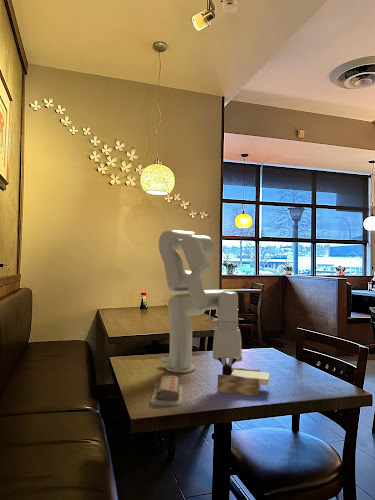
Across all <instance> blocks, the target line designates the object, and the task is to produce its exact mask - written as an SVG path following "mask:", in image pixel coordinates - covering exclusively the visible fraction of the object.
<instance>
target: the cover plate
mask: <svg viewBox="0 0 375 500" xmlns="http://www.w3.org/2000/svg"><path fill="white" fill-rule="evenodd" d="M231 376H240V377H250V378H258V385H260V386H269V383H270V372H265V371H260V372H256V371H245V370H233V372H232V374H231Z"/></svg>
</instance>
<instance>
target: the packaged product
mask: <svg viewBox="0 0 375 500" xmlns="http://www.w3.org/2000/svg"><path fill="white" fill-rule="evenodd" d="M183 389H184V385H183V383H181V384H180V378H179V376H176V375H172V374H171V375H170V374H169V375H166V374H164V375H161V377H160V379H159V382H156V383H155V384H154V389H153V392H152V396H151V399H150V405H151V406H176V407H177V406H182V405H183V404H182V403H183Z"/></svg>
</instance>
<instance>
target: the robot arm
mask: <svg viewBox="0 0 375 500" xmlns="http://www.w3.org/2000/svg"><path fill="white" fill-rule="evenodd" d="M214 249H215V245H214V242H213V240H212V238H211V237H210V236H208V235H205V234H201V233H199V232H194V231H189V230H187V231H186V230H178V229H167V230H165V231H163V232H162V233H160V235H159V238H158V250H159V255H160V257H161V259H162V263H163V266H164V267H163V268H164V272H165V279H166V282H167V287H168V289H169V290H170V291H171V292H173V293H174V292H175V293H179V294H174V295H172V296H171V297H170V298H169V300H168V303H167V309H168V314H169V356H167V357H163V356H161V357H160V362H161V363H162V364H166V365H165V370H167V372H171V373H176V374H177V373H179V374H180V373H181V374H182V373H183V374H184V373H185V374H186V373H191V372H193V371H195V370H196V364H193V363H192V361H193V360H192V359H193V350H192V349H193V326H192V323H191V320H190V319H189V317H193V316H201V315H203V314H204V313H205V312H206V311H211V310H217V320H216V321H213V326H216V328H215V329H214V333H213V342H212V343H213V344H212V359H214V360H216V361H219V363H220V364H221V365H222V367H223V374H224V375H229V376H230V375H231V374H232V368H233V365H234V364H235V363H236V362H237V363H238V362H241V361H243V356H242V350H243V346H242V335H241V330H240V328H239V295H238V292H237V291H230V290H229V291H228V290H223V289H204V285H203V280H202V277H201V276H202V275H204V274H206V273H207V272H208V271H209V270H210V269H211V267H212V263H211V261H210V259H209V255H211V254H212V253H213V251H214ZM177 250H182V251H183V254H184V256H185V260H186V261H187V265H188V267H189V269H190V270H189V269H188V270H187V269H185V266H184V261H183V258H182V257H181V255H180V254H179V252H177ZM185 292H187V293H185ZM180 293H181V294H180ZM227 359H228V362H227Z"/></svg>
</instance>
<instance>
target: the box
mask: <svg viewBox="0 0 375 500" xmlns="http://www.w3.org/2000/svg"><path fill="white" fill-rule="evenodd" d="M233 370H245V371H256V372H261V370H260V369H253V368H244V367H243V368H241V367H232V372H233ZM260 389H261V385H258V378H250V377H240V376H231V375H230V376H229V375H224V374H223V366H222V374H217V392H218V393H228V394H235V395H236V394H237V395H244V396H254V397H255V396H256V397H259V394H260Z"/></svg>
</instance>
